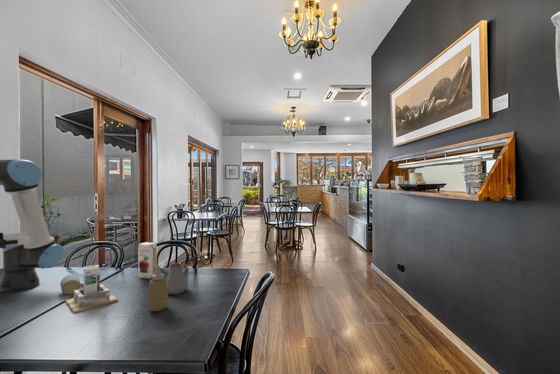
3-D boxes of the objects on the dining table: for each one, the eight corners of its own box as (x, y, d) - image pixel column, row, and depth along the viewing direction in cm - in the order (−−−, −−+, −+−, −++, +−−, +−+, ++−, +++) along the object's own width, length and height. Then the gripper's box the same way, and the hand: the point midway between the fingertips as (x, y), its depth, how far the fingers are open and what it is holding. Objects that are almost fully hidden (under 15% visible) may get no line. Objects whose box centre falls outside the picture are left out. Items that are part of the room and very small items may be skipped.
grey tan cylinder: (61, 297, 127) (61, 280, 127) (60, 292, 134) (60, 276, 134) (89, 292, 134) (89, 276, 134) (86, 287, 141) (87, 272, 141)
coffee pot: (175, 297, 128) (176, 265, 128) (157, 293, 133) (157, 262, 133) (206, 283, 147) (206, 255, 147) (189, 280, 152) (189, 252, 152)
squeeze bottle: (147, 314, 111) (147, 269, 111) (146, 306, 118) (147, 264, 118) (168, 310, 115) (169, 267, 115) (167, 303, 122) (167, 262, 122)
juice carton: (144, 274, 162) (145, 241, 161) (158, 274, 160) (158, 242, 160) (136, 278, 154) (136, 244, 154) (150, 279, 153) (150, 244, 153)
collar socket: (65, 301, 122) (65, 290, 122) (106, 291, 134) (106, 281, 134) (73, 313, 112) (73, 300, 112) (117, 301, 123) (117, 290, 123)
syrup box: (83, 303, 119) (84, 269, 119) (83, 298, 124) (83, 266, 123) (99, 299, 122) (100, 267, 122) (98, 295, 127) (98, 264, 127)
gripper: (-52, 250, 106) (23, 242, 121) (-58, 263, 89) (30, 252, 105) (-52, 231, 106) (23, 225, 121) (-58, 240, 89) (31, 232, 104)
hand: (27, 237), depth 113 cm, fingers open, 13 cm apart
